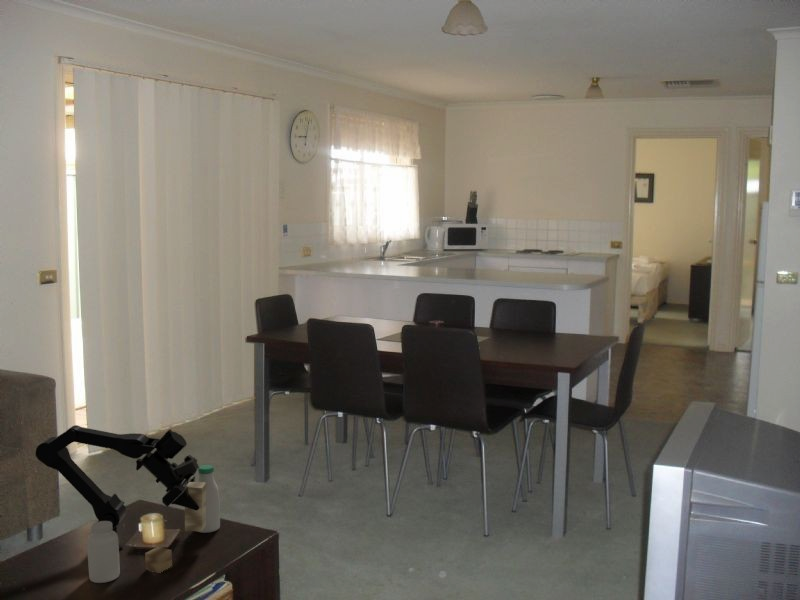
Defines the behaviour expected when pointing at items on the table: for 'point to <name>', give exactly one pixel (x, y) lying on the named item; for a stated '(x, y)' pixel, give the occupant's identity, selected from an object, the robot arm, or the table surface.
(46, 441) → the robot arm
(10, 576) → the table surface
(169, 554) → the oak cube
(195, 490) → the maple block
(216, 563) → the table surface
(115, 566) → the pill bottle
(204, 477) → the milk bottle
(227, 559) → the table surface
